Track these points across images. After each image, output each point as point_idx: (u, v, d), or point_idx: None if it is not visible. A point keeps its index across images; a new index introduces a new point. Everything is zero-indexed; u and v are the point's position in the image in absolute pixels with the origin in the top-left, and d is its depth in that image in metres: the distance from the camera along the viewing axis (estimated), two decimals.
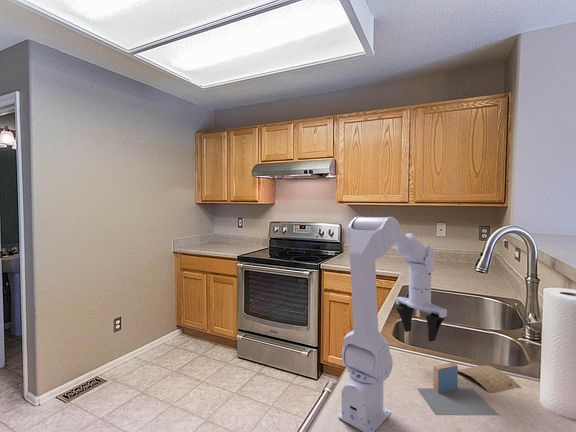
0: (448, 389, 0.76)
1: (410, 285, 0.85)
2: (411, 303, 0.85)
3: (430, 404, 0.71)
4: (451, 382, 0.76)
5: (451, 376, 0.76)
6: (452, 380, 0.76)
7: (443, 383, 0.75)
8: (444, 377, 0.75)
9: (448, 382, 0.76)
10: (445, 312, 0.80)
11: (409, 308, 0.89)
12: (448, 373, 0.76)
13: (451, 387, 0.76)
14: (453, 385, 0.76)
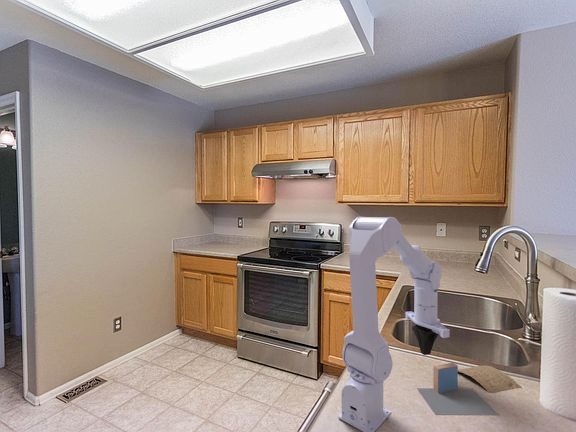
0: (448, 389, 0.76)
1: (415, 301, 0.83)
2: (415, 319, 0.83)
3: (430, 404, 0.71)
4: (451, 382, 0.76)
5: (451, 376, 0.76)
6: (452, 380, 0.76)
7: (443, 383, 0.75)
8: (444, 377, 0.75)
9: (448, 382, 0.76)
10: (447, 332, 0.76)
11: None
12: (448, 373, 0.76)
13: (451, 387, 0.76)
14: (453, 385, 0.76)
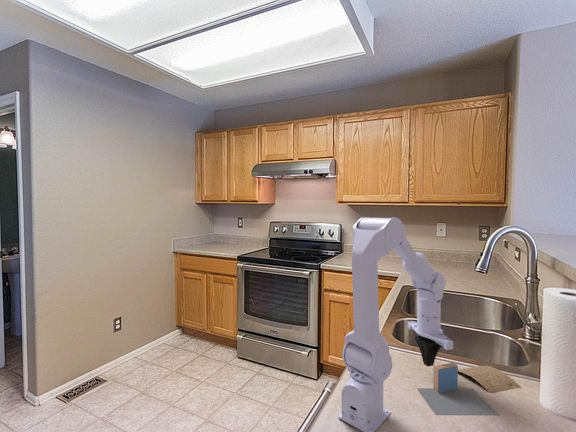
0: (448, 389, 0.76)
1: (418, 312, 0.82)
2: (418, 330, 0.82)
3: (430, 404, 0.71)
4: (451, 382, 0.76)
5: (451, 376, 0.76)
6: (452, 380, 0.76)
7: (443, 383, 0.75)
8: (444, 377, 0.75)
9: (448, 382, 0.76)
10: (451, 344, 0.75)
11: None
12: (448, 373, 0.76)
13: (451, 387, 0.76)
14: (453, 385, 0.76)
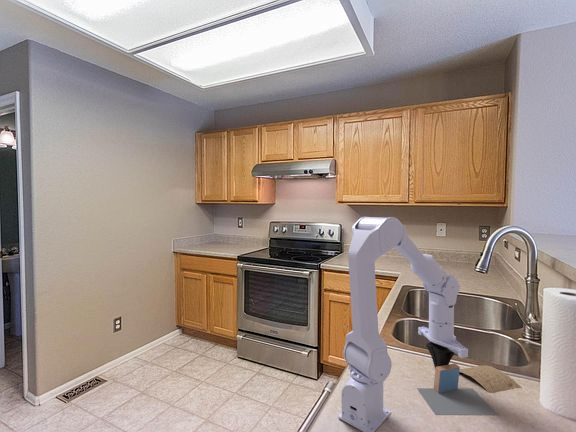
0: (448, 389, 0.76)
1: (429, 317, 0.78)
2: (430, 336, 0.78)
3: (430, 404, 0.71)
4: (452, 383, 0.76)
5: (452, 377, 0.76)
6: (453, 380, 0.76)
7: (444, 384, 0.75)
8: (445, 378, 0.75)
9: (449, 382, 0.76)
10: (466, 352, 0.71)
11: None
12: (450, 374, 0.75)
13: (451, 387, 0.76)
14: (453, 385, 0.76)
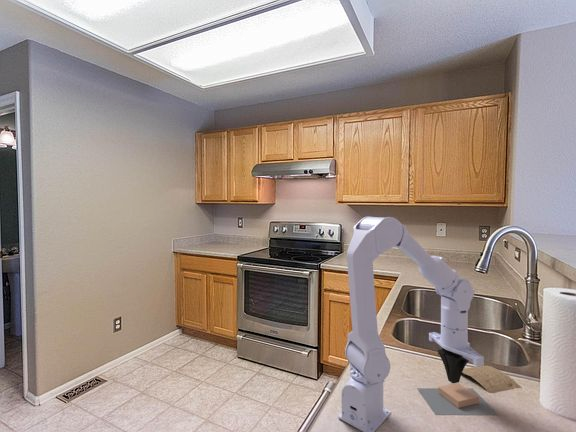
0: None
1: (441, 321, 0.75)
2: (442, 343, 0.74)
3: (430, 404, 0.71)
4: None
5: None
6: None
7: None
8: None
9: None
10: (481, 360, 0.67)
11: None
12: None
13: None
14: None
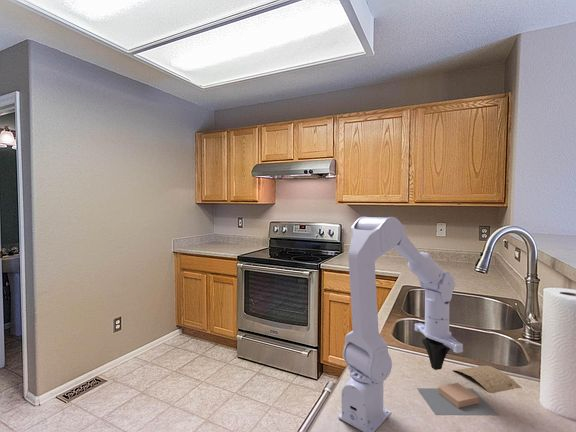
0: None
1: (425, 313, 0.80)
2: (426, 332, 0.79)
3: (430, 404, 0.71)
4: None
5: None
6: None
7: None
8: None
9: None
10: (460, 347, 0.73)
11: None
12: None
13: None
14: None
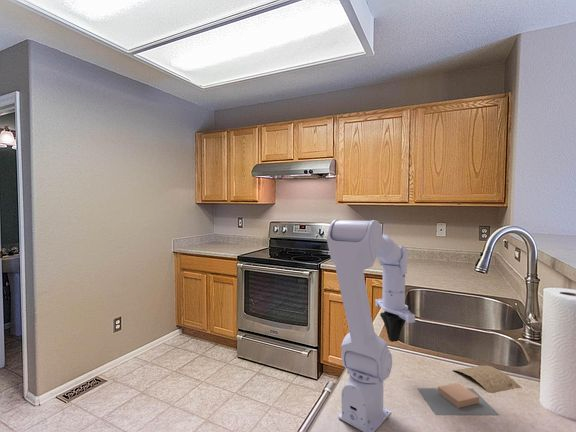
0: None
1: (384, 288, 0.81)
2: (383, 306, 0.82)
3: (430, 404, 0.71)
4: None
5: None
6: None
7: None
8: None
9: None
10: (412, 318, 0.75)
11: None
12: None
13: None
14: None
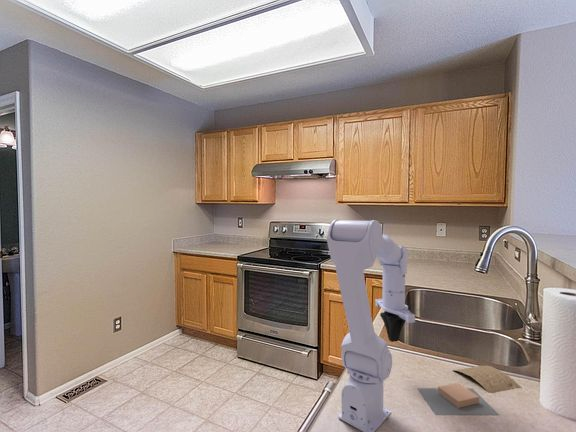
0: None
1: (384, 288, 0.81)
2: (383, 306, 0.82)
3: (430, 404, 0.71)
4: None
5: None
6: None
7: None
8: None
9: None
10: (412, 318, 0.75)
11: None
12: None
13: None
14: None
